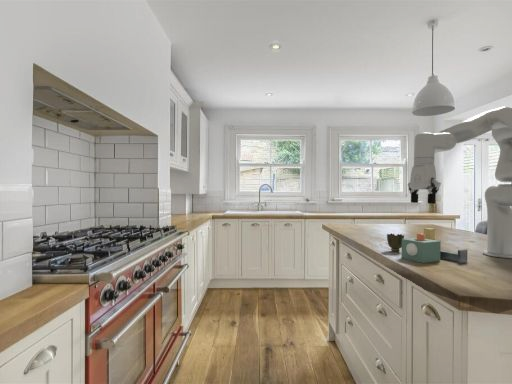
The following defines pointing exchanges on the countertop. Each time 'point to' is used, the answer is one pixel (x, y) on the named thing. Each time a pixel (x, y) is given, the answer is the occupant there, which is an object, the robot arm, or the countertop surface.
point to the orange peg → (421, 237)
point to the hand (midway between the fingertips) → (422, 203)
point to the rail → (454, 256)
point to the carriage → (429, 233)
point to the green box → (421, 250)
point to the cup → (395, 241)
